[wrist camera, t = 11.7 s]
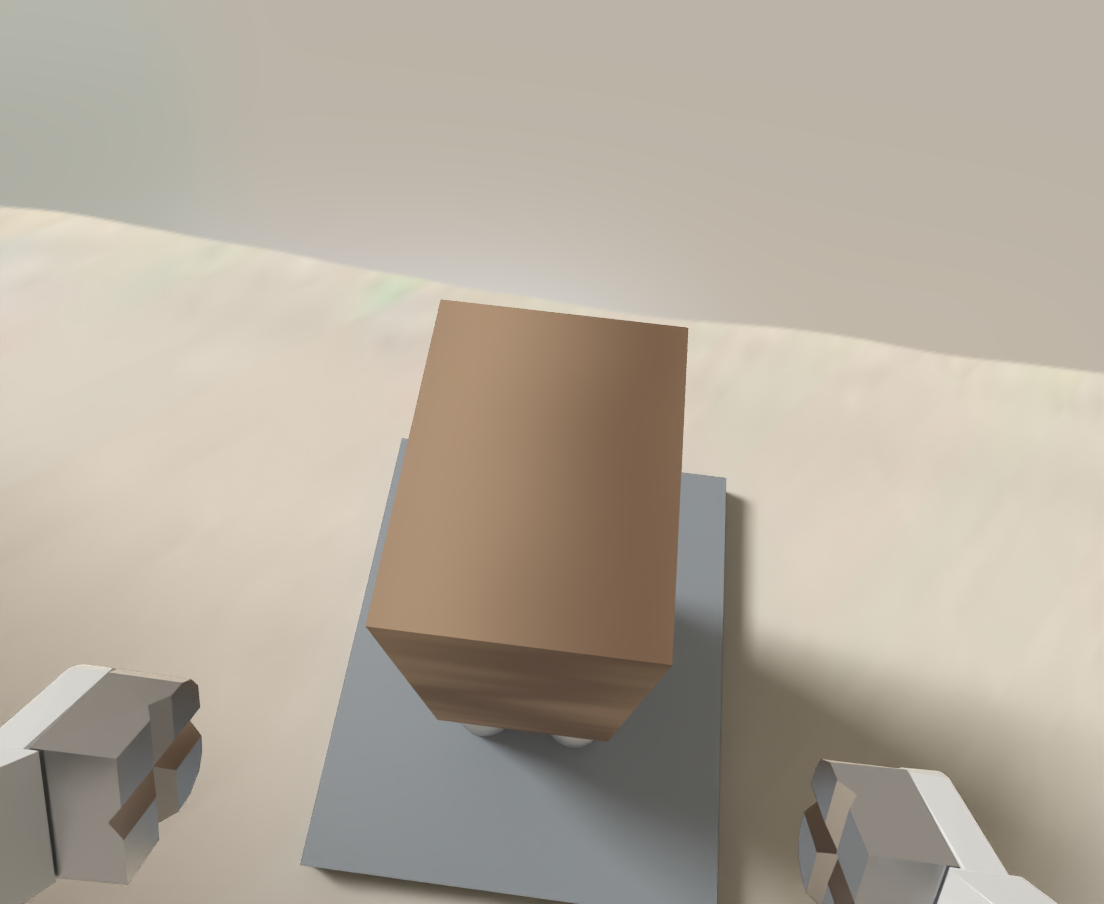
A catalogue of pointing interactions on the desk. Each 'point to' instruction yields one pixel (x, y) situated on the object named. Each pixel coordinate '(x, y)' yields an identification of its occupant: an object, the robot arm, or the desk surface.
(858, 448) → the desk surface
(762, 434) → the desk surface
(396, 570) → the block
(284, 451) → the desk surface
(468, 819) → the stand
